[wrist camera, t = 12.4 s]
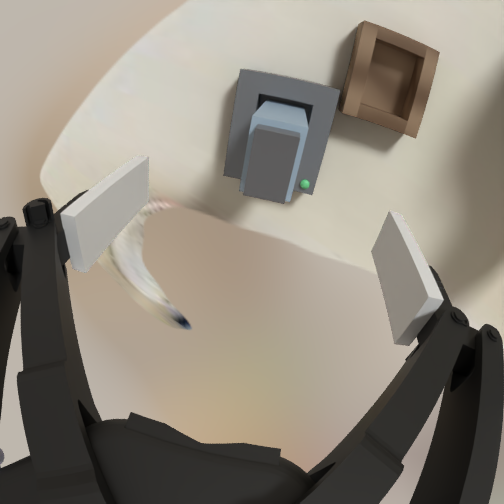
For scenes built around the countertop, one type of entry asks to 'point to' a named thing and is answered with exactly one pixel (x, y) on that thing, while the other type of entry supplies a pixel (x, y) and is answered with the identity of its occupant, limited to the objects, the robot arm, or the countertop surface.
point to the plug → (274, 151)
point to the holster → (388, 79)
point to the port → (288, 91)
